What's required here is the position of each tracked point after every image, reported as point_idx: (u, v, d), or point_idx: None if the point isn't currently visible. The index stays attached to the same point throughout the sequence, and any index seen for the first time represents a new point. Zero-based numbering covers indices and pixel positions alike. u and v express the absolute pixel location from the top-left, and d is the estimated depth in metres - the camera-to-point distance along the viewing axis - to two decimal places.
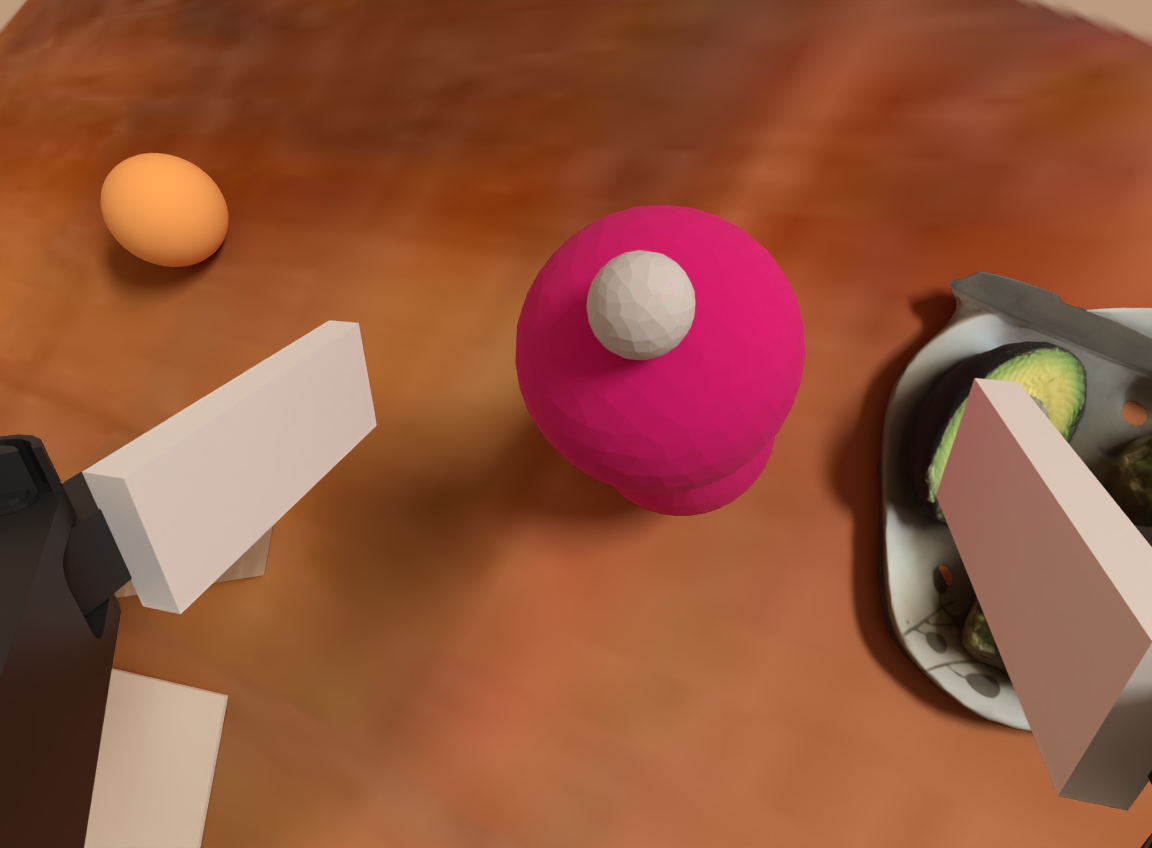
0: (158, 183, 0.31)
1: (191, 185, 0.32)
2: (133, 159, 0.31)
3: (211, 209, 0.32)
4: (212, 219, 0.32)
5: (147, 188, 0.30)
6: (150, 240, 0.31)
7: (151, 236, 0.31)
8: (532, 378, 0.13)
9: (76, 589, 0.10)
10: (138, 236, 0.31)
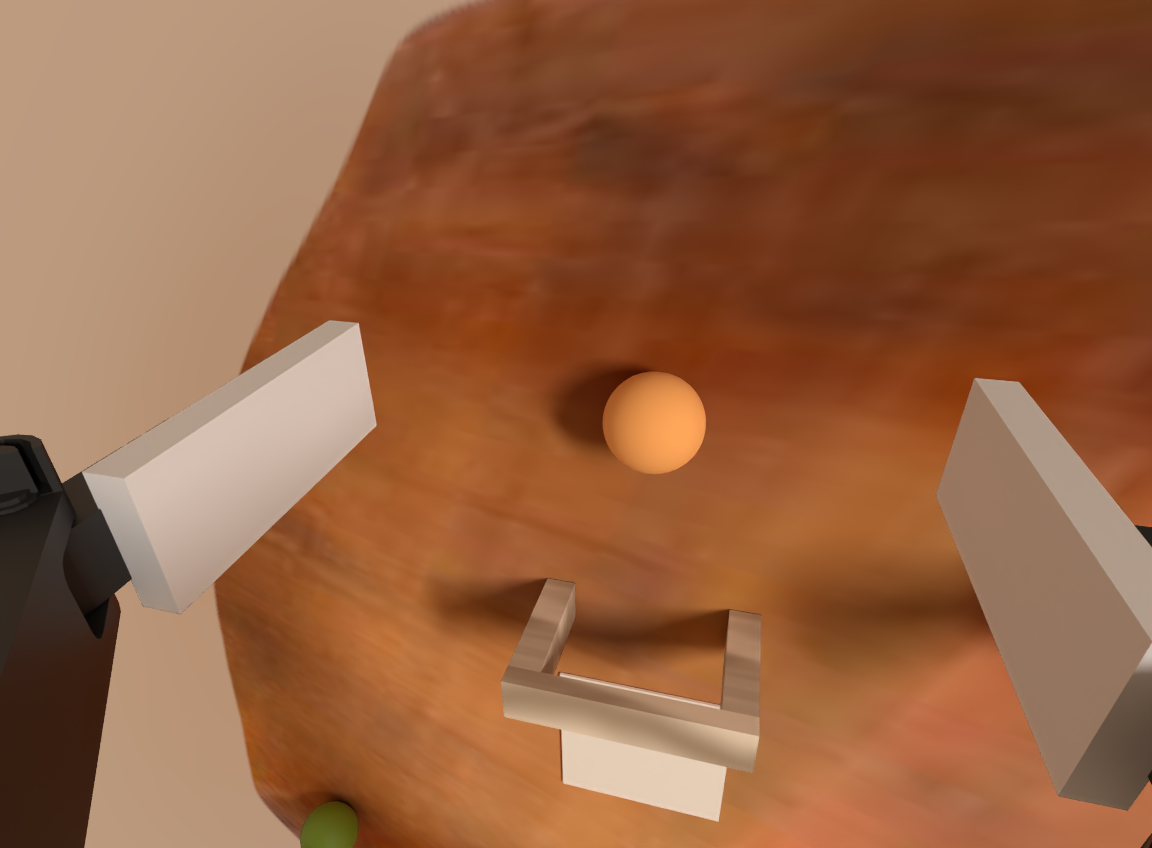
0: (678, 437, 0.32)
1: (696, 422, 0.33)
2: (645, 414, 0.32)
3: (705, 426, 0.34)
4: (704, 432, 0.34)
5: (671, 446, 0.32)
6: (665, 472, 0.34)
7: (668, 471, 0.34)
8: None
9: (76, 589, 0.10)
10: (656, 473, 0.34)
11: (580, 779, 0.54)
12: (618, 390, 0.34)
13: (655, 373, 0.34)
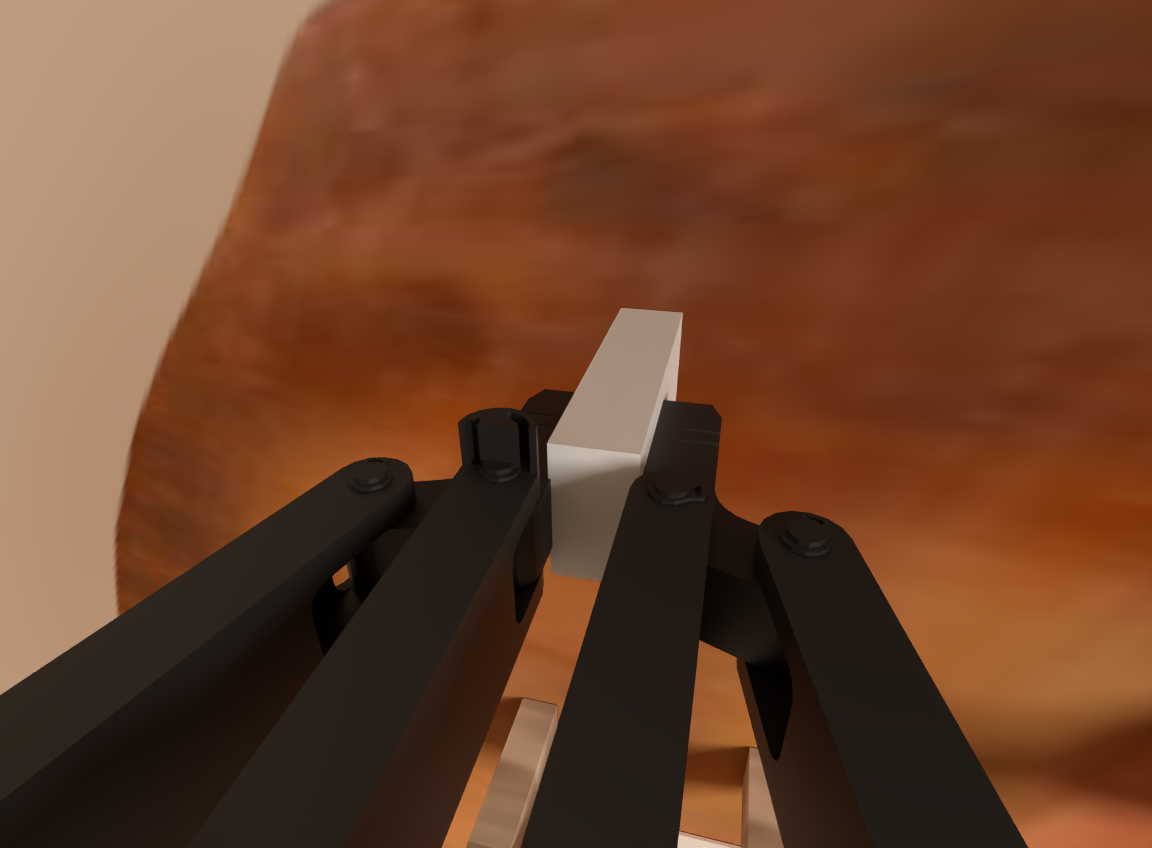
0: None
1: None
2: None
3: None
4: None
5: None
6: None
7: None
8: None
9: (517, 566, 0.10)
10: None
11: None
12: None
13: None
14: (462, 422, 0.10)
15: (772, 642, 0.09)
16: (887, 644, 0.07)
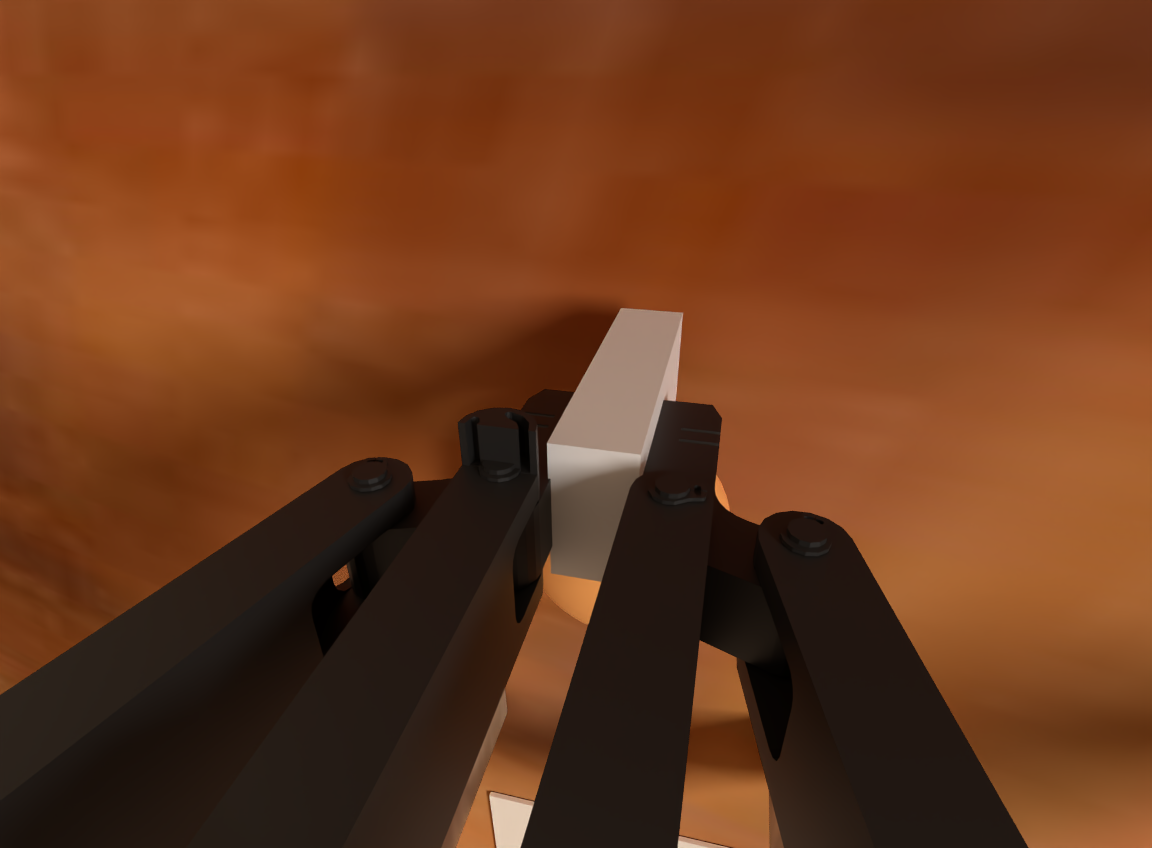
0: None
1: None
2: None
3: None
4: None
5: None
6: None
7: None
8: None
9: (517, 566, 0.10)
10: None
11: None
12: None
13: None
14: (461, 421, 0.10)
15: (772, 642, 0.09)
16: (887, 643, 0.07)
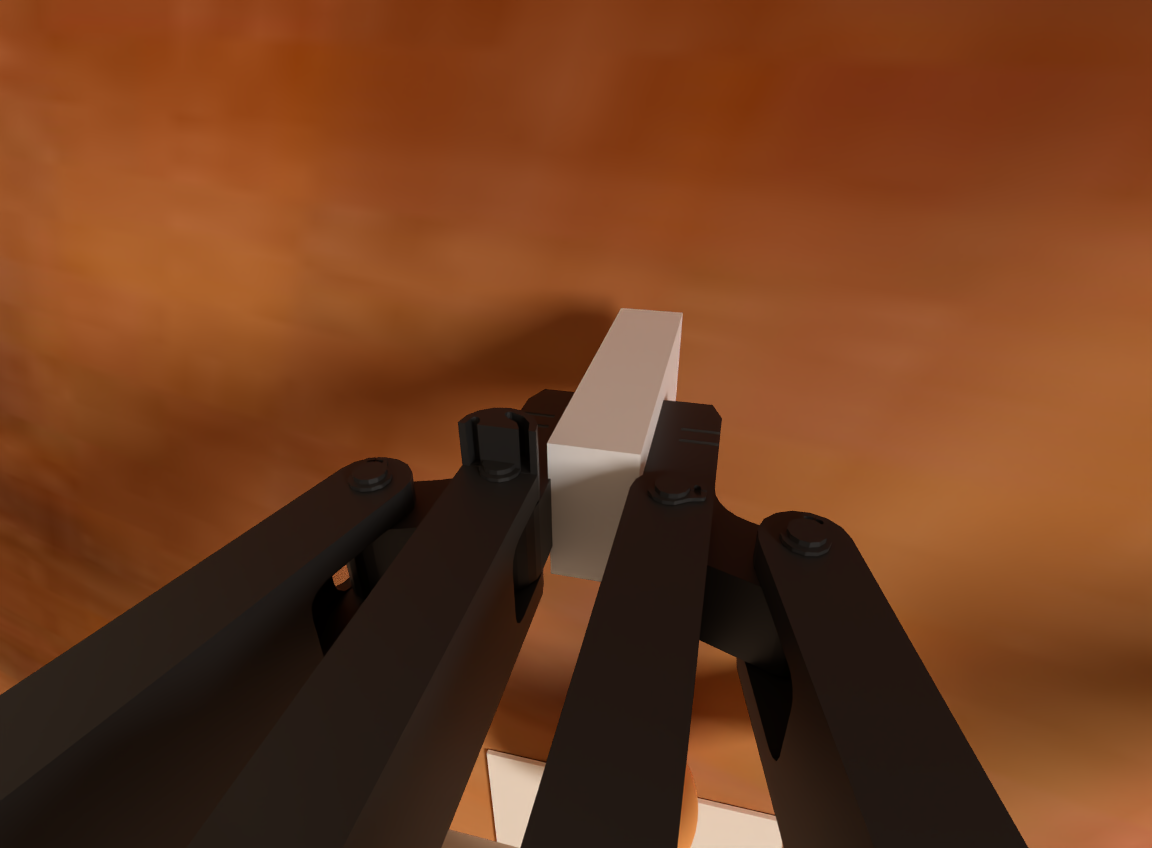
0: None
1: None
2: None
3: (696, 826, 0.23)
4: None
5: None
6: None
7: None
8: None
9: (517, 566, 0.10)
10: None
11: None
12: None
13: None
14: (462, 421, 0.10)
15: (772, 642, 0.09)
16: (887, 643, 0.07)
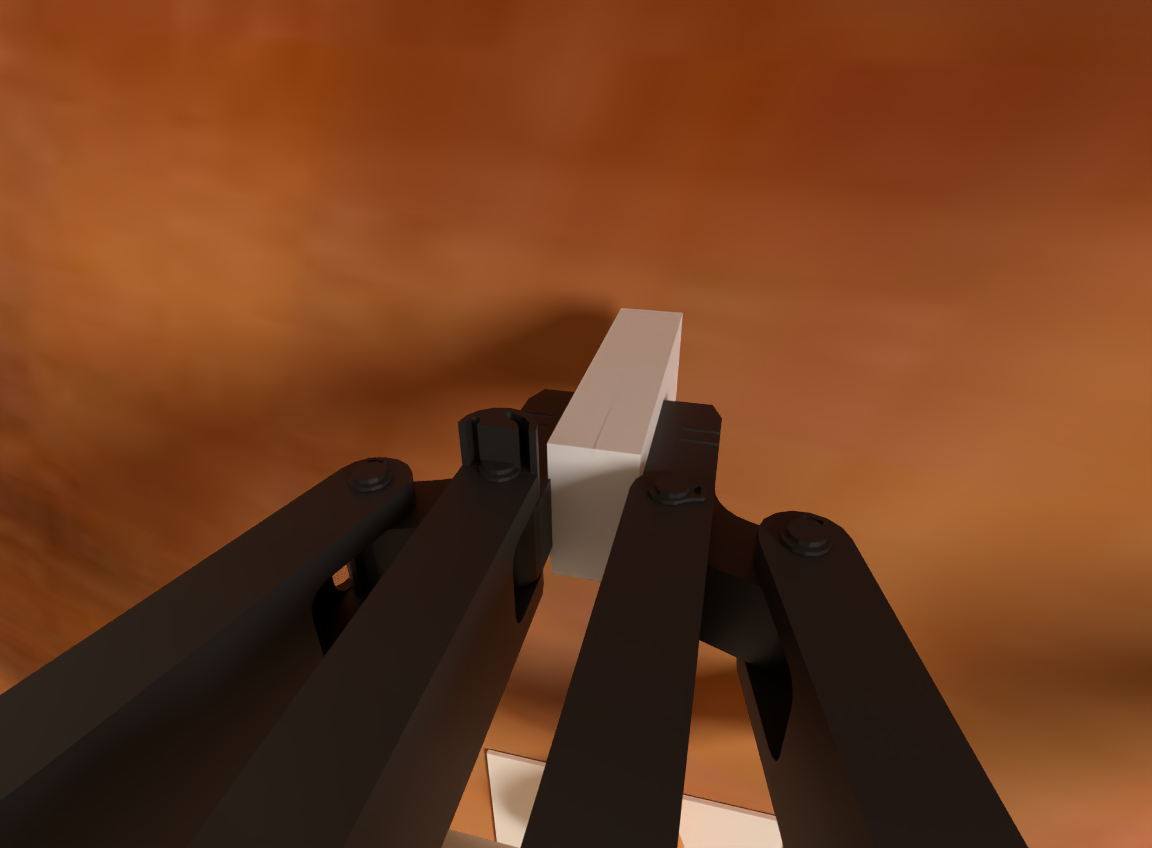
0: None
1: None
2: None
3: None
4: None
5: None
6: None
7: None
8: None
9: (517, 566, 0.10)
10: None
11: None
12: None
13: None
14: (462, 421, 0.10)
15: (772, 642, 0.09)
16: (887, 643, 0.07)
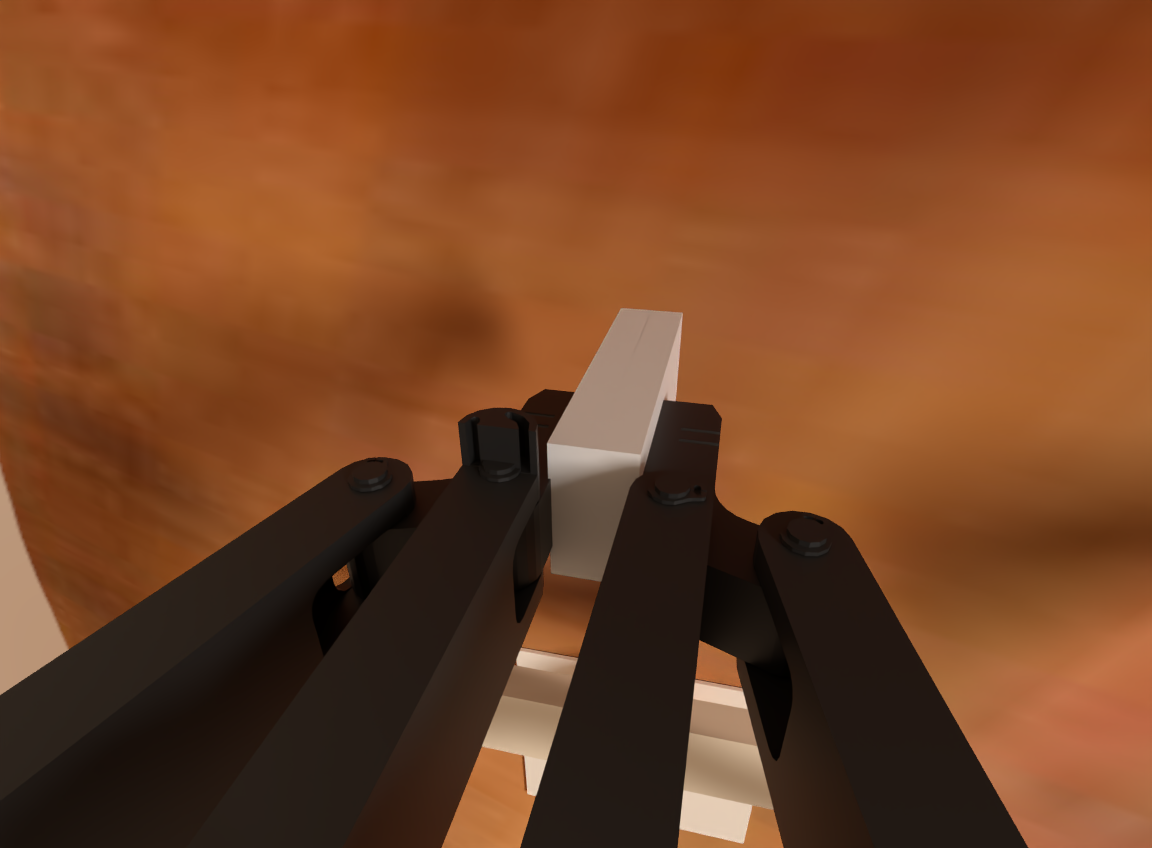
0: None
1: None
2: None
3: None
4: None
5: None
6: None
7: None
8: None
9: (517, 566, 0.10)
10: None
11: None
12: None
13: None
14: (461, 422, 0.10)
15: (772, 642, 0.09)
16: (887, 643, 0.07)
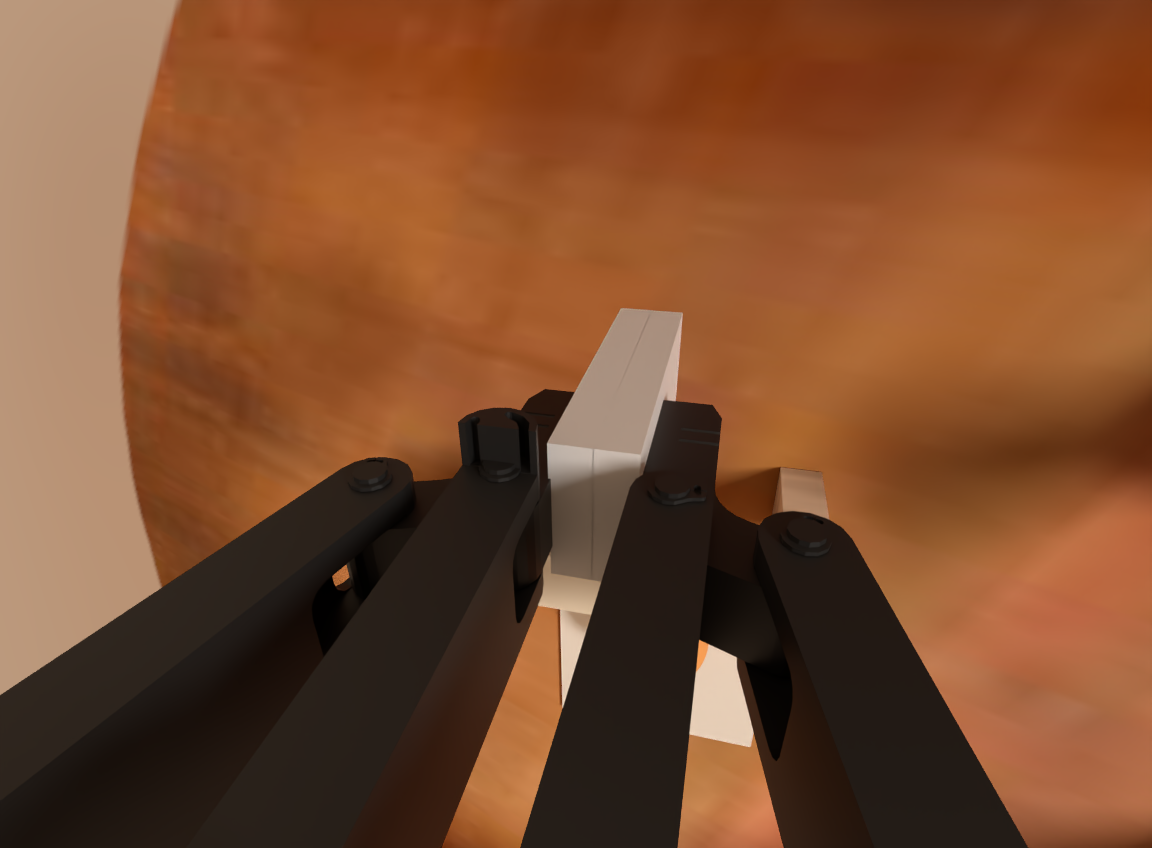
0: None
1: None
2: None
3: None
4: None
5: None
6: None
7: None
8: None
9: (517, 566, 0.10)
10: None
11: None
12: None
13: None
14: (462, 422, 0.10)
15: (772, 642, 0.09)
16: (887, 643, 0.07)
